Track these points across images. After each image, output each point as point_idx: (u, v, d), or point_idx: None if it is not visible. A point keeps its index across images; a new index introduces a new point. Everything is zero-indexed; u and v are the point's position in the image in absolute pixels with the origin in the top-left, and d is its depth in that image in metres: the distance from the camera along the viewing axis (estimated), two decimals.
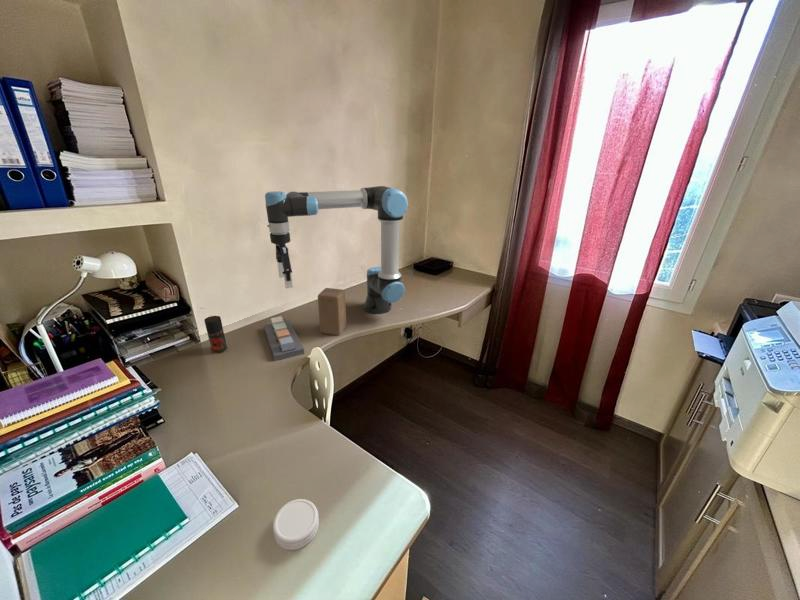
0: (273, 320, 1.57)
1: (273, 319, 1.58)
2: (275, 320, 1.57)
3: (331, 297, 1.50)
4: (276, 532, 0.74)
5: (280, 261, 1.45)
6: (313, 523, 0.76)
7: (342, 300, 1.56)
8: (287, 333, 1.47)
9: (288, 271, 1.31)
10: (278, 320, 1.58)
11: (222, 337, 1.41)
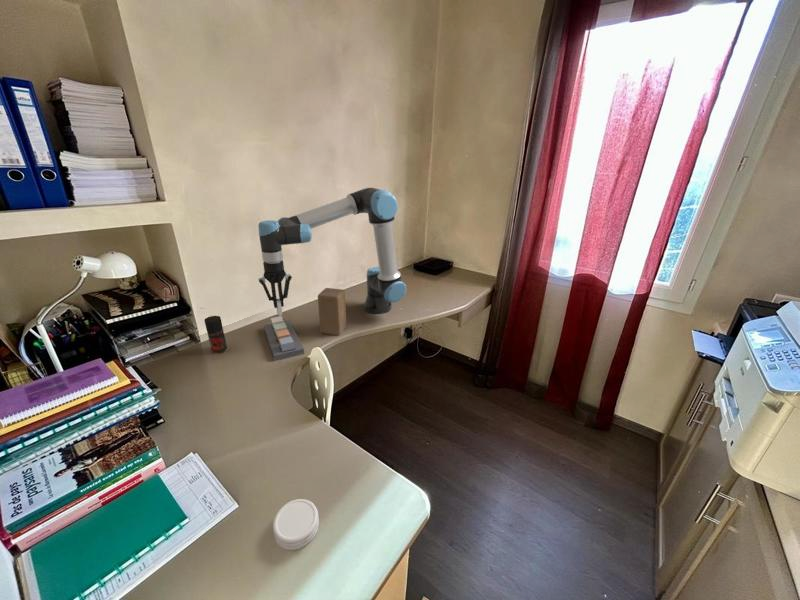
0: (273, 320, 1.57)
1: (273, 319, 1.58)
2: (275, 320, 1.57)
3: (331, 297, 1.50)
4: (276, 532, 0.74)
5: (279, 297, 1.41)
6: (313, 523, 0.76)
7: (342, 300, 1.56)
8: (287, 333, 1.47)
9: (268, 298, 1.39)
10: (278, 320, 1.58)
11: (222, 337, 1.41)
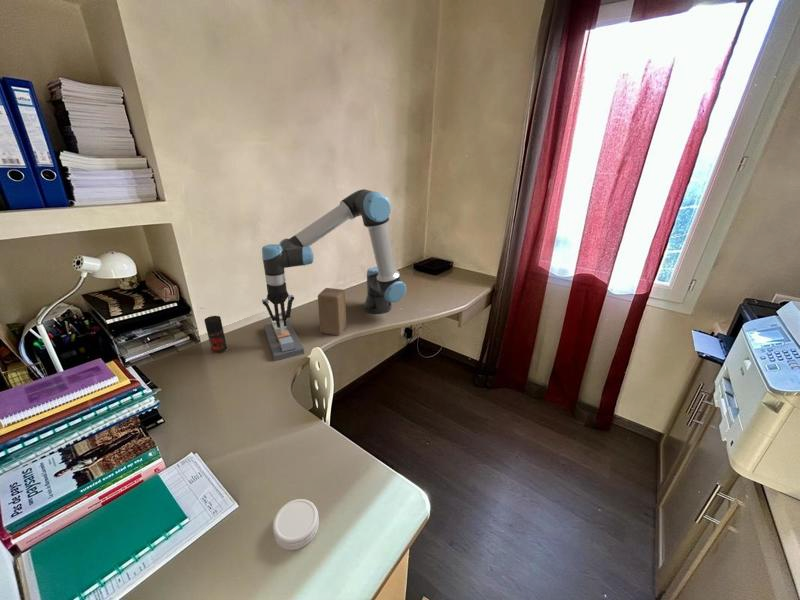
0: None
1: None
2: None
3: (331, 297, 1.50)
4: (276, 532, 0.74)
5: (282, 317, 1.45)
6: (313, 523, 0.76)
7: (342, 300, 1.56)
8: (287, 334, 1.47)
9: None
10: None
11: (222, 337, 1.41)
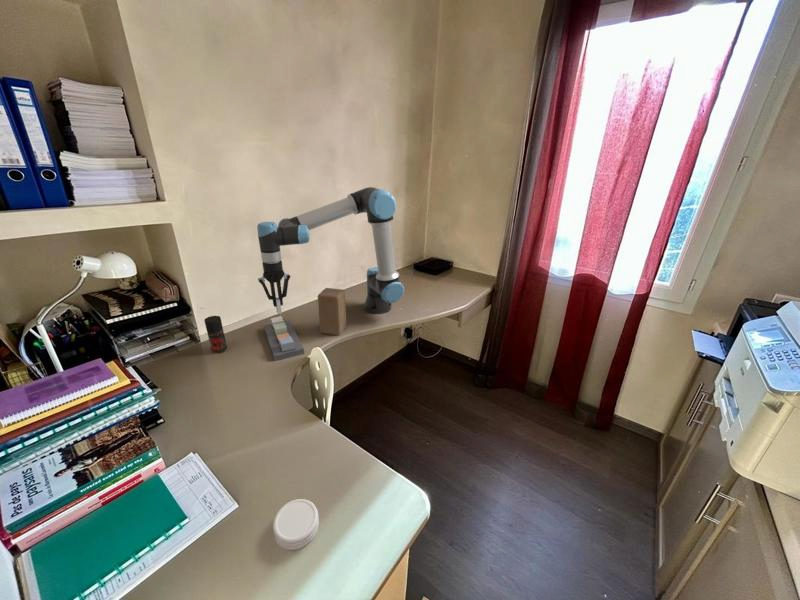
0: (273, 320, 1.57)
1: (273, 319, 1.58)
2: (275, 320, 1.57)
3: (331, 297, 1.50)
4: (276, 532, 0.74)
5: (278, 296, 1.44)
6: (313, 523, 0.76)
7: (342, 300, 1.56)
8: None
9: (268, 297, 1.42)
10: (278, 320, 1.58)
11: (222, 337, 1.41)
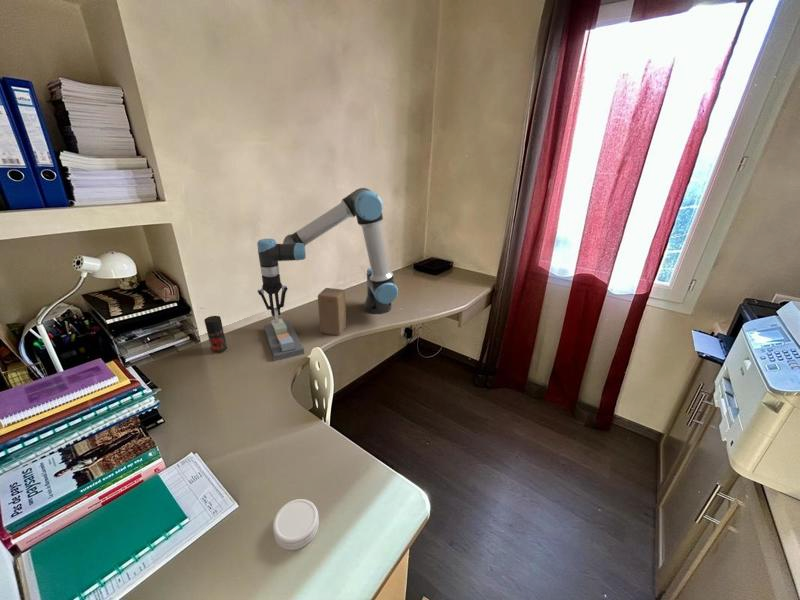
0: (273, 322, 1.58)
1: (273, 321, 1.59)
2: (275, 322, 1.58)
3: (331, 297, 1.50)
4: (276, 532, 0.74)
5: (276, 306, 1.56)
6: (313, 523, 0.76)
7: (342, 300, 1.56)
8: None
9: (266, 307, 1.54)
10: (278, 322, 1.58)
11: (222, 337, 1.41)
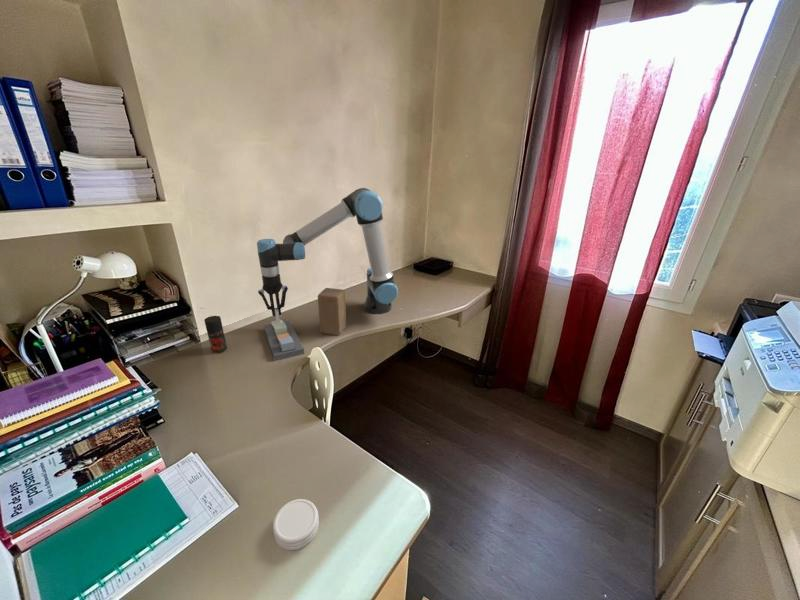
0: (273, 323, 1.58)
1: (273, 322, 1.59)
2: (275, 323, 1.58)
3: (331, 297, 1.50)
4: (276, 532, 0.74)
5: (277, 306, 1.56)
6: (313, 523, 0.76)
7: (342, 300, 1.56)
8: None
9: None
10: (278, 323, 1.58)
11: (222, 337, 1.41)
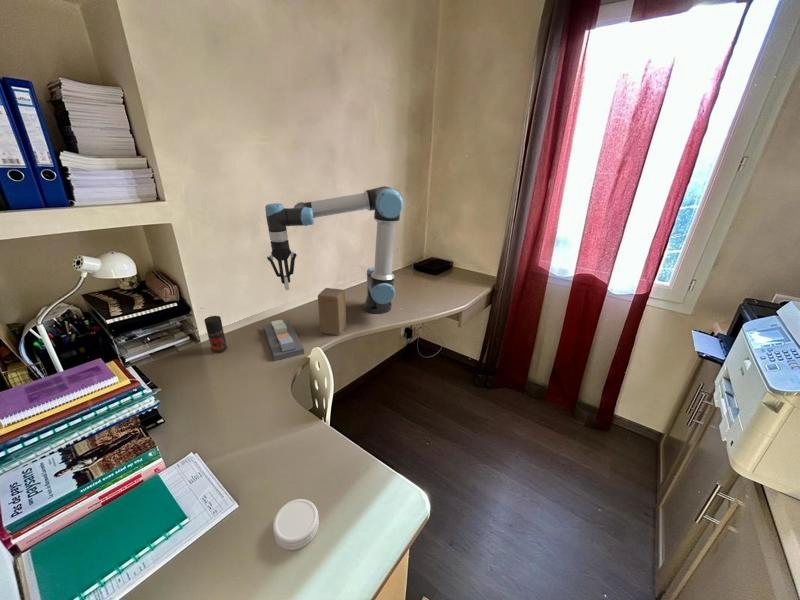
0: (273, 323, 1.58)
1: (273, 322, 1.59)
2: (275, 323, 1.58)
3: (331, 297, 1.50)
4: (276, 532, 0.74)
5: (286, 274, 1.55)
6: (313, 523, 0.76)
7: (342, 300, 1.56)
8: None
9: None
10: (278, 323, 1.58)
11: (222, 337, 1.41)
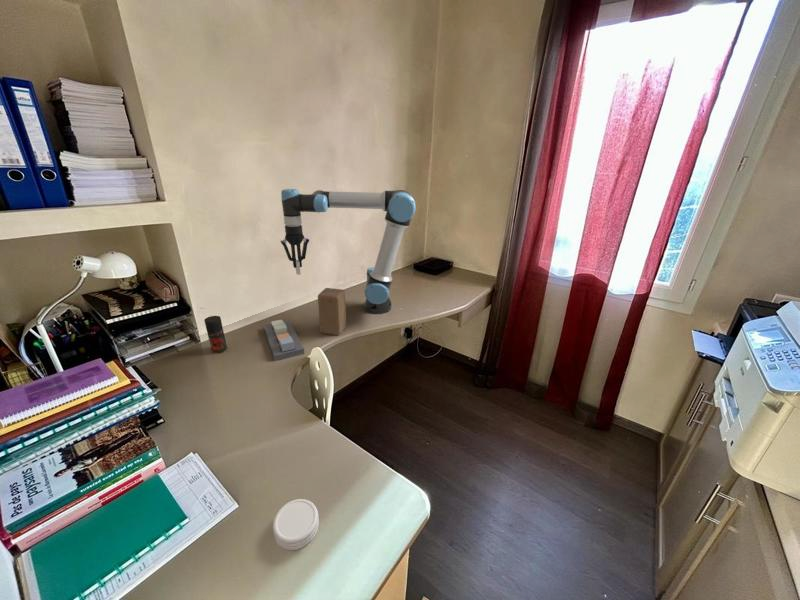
0: (273, 323, 1.58)
1: (273, 322, 1.59)
2: (275, 323, 1.58)
3: (331, 297, 1.50)
4: (276, 532, 0.74)
5: (298, 258, 1.60)
6: (313, 523, 0.76)
7: (342, 300, 1.56)
8: None
9: (289, 259, 1.58)
10: (278, 323, 1.58)
11: (222, 337, 1.41)
